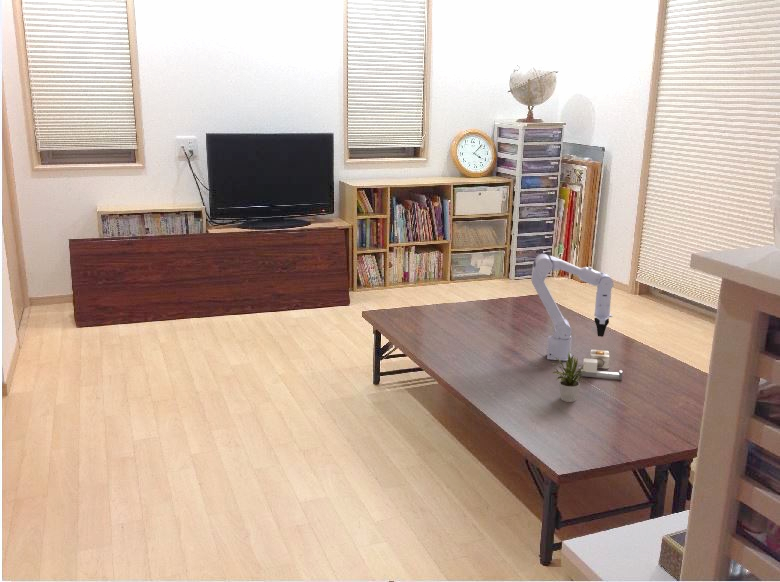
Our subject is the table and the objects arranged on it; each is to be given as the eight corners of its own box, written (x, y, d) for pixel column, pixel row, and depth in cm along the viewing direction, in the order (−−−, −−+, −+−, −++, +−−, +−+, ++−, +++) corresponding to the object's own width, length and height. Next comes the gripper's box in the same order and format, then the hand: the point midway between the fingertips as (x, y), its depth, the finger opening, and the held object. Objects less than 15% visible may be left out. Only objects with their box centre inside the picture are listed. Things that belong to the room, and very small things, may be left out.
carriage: (582, 376, 271) (583, 361, 269) (582, 372, 274) (583, 358, 273) (596, 377, 269) (597, 363, 268) (596, 373, 273) (597, 359, 272)
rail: (578, 376, 272) (578, 369, 271) (578, 373, 274) (578, 366, 274) (621, 380, 268) (622, 372, 267) (621, 377, 270) (622, 370, 270)
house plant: (543, 389, 260) (545, 347, 255) (581, 389, 259) (584, 347, 255) (550, 405, 246) (552, 361, 242) (590, 406, 245) (593, 362, 241)
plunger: (596, 357, 281) (596, 352, 281) (596, 355, 284) (596, 350, 283) (602, 358, 281) (603, 353, 280) (602, 355, 283) (603, 351, 283)
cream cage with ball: (590, 367, 280) (590, 355, 279) (589, 361, 287) (590, 349, 286) (608, 369, 279) (609, 357, 277) (607, 362, 286) (608, 350, 284)
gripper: (614, 309, 276) (611, 342, 279) (612, 299, 289) (610, 331, 293) (595, 308, 277) (592, 341, 281) (594, 298, 291) (592, 329, 295)
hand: (600, 336), depth 287 cm, fingers closed
